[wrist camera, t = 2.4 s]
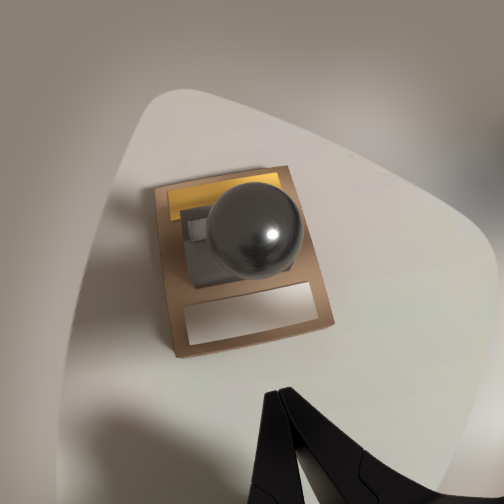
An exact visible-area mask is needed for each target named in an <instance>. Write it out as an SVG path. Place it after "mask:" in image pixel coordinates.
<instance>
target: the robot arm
mask: <svg viewBox="0 0 504 504" xmlns="http://www.w3.org/2000/svg"><path fill="white" fill-rule="evenodd" d="M363 450H364V449H363V448H362V447H361V446H360V445H359V444H357V443H356V442H355V441H354V440H352V439H351V438H350V437H349V436H348V435H346V434H345V433H344V432H343V431H342V430H340V429H339V428H338V427H337V426H336V425H334V424H333V423H332V422H331V421H330V420H328V419H327V418H326V417H325V416H324V415H323V414H321V413H320V412H319V411H318V410H317V409H316V408H315V407H313V406H312V405H311V404H310V403H309V402H308V401H307V400H305V399H304V398H303V397H302V396H301V395H300V394H299V393H298V392H296V391H295V390H294V389H293V388H292V387H286V388H282V389H279V390H278V391H277V390H274V391H271V392H267V393H265V395H264V401H263V408H262V415H261V422H260V429H259V436H258V442H257V449H256V456H255V462H254V468H253V474H252V481H251V483H252V484H251V486H250V492H249V497H248V502H247V504H305V501H304V496H303V490H302V485H301V479H300V474H299V468H298V463H297V459H298V461H299V463H300V465H301V467H302V469H303V471H304V473H305V475H306V477H307V479H308V481H309V483H310V485H311V487H312V489H313V491H314V493H315V496H316V498H317V499H318V501H319V503H320V504H504V496H503V497H499V498H483V497H467V496H466V497H465V496H455V495H446V494H441V493H438V492H435V491H432V490H430V489H428V488H426V487H424V486H422V485H420V484H418V483H416V482H415V481H413V480H411V479H409V478H407V477H405V476H403V475H402V474H400V473H398V472H396V471H395V470H393V469H391V468H390V467H388V466H386V465H385V464H383V463H382V462H381V461H379V460H378V459H377V458H375V457H374V456H373V455H371V454H370V453H369V452H367V451H366V450H364V451H363Z"/></svg>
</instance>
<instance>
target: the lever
mask: <svg viewBox="0 0 504 504" xmlns="http://www.w3.org/2000/svg"><path fill="white" fill-rule="evenodd" d="M188 230H189V235H190V240H191V243H192V244H194V243H199V242H204V241H207V244H208V247H209V250H210V252H211V254H212V256H213V258H214V259H215V260H216V262H217V263H218V264H219V265H220V266H221V267H222V268H223V269H224V270H226V271H227V272H229V273H230V274H232V275H234V276H237V277H239V278H243V279H248V280H261V279H267V278H270V277H273V276H275V275H277V274H279V273H281V272H282V271H284V270H285V269H286V268H287V267H288V266H290V265H291V263H292V262H293V261H294V260H295V258H296V257H297V255H298V253H299V251H300V249H301V246H302V242H303V236H304V226H303V220H302V216H301V213H300V211H299V209H298V207H297V205H296V204H295V202H294V201H293V200H292V199H291V198H290V196H289V195H287V194H286V193H285V192H284V191H282V190H281V189H279V188H277V187H275V186H273V185H270V184H267V183H262V182H247V183H243V184H239V185H237V186H234V187H232V188H230V189H228V190H227V191H226V192H224V193H223V194H222V195H221V196H220V197H219V198H218V199H217V200H216V201H215V203H214V204H213V206H212V208H211V210H210V212H209V214H208V218H204V219H198V220H193V221H188Z"/></svg>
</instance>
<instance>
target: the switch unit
mask: <svg viewBox="0 0 504 504" xmlns="http://www.w3.org/2000/svg"><path fill="white" fill-rule="evenodd" d="M247 182H262V183H267V184H270V185H273V186H275V187H277V188H279V189H281V190H282V191H284V192H285V193H286V194H287V195H289V196H290V198H291V199H292V200H293V201H294V202H295V204H296V205H297V207H298V209H299V211H300V213H301V216H302V220H303V226H304V236H303V242H302V246H301V249H300V251H299V253H298V255H297V257H296V258H295V260H294V261H293V262H292V263H291V265H290V266H288V267H287V268H286V269H285V270H284V271H282V272H281V273H279V274H277V275H275V276H273V277H270V278H267V279H261V280H248V279H243V278H239V277H237V276H234V275H232V274H230V273H229V272H227V271H226V270H224V269H223V268H222V267H221V266H220V265H219V264H218V263H217V262H216V260H215V259H214V258H213V256H212V254H211V252H210V250H209V247H208V244H207V241H204V242H199V243H194V244H192V243H191V240H190V235H189V230H188V221H193V220H198V219H204V218H208V214H209V212H210V210H211V208H212V206H213V204H214V203H215V201H216V200H217V199H218V198H219V197H220V196H221V195H222V194H223V193H224V192H226V191H227V190H228V189H230V188H232V187H234V186H237V185H239V184H243V183H247ZM155 202H156V214H157V225H158V235H159V245H160V254H161V262H162V271H163V278H164V286H165V293H166V300H167V307H168V313H169V320H170V326H171V332H172V338H173V344H174V349H175V355H176V358H189V357H195V356H200V355H206V354H212V353H217V352H223V351H228V350H233V349H238V348H243V347H248V346H253V345H258V344H262V343H267V342H271V341H276V340H280V339H284V338H289V337H293V336H297V335H301V334H305V333H309V332H313V331H317V330H321V329H325V328H328V327H330V326H332V325H334V324H335V322H334V318H333V315H332V311H331V307H330V303H329V300H328V296H327V292H326V289H325V285H324V282H323V278H322V274H321V271H320V267H319V264H318V261H317V257H316V254H315V250H314V247H313V244H312V240H311V237H310V234H309V231H308V227H307V224H306V221H305V218H304V214H303V211H302V208H301V205H300V202H299V199H298V196H297V193H296V190H295V187H294V184H293V181H292V178H291V175H290V172H289V169H288V166H287V165H286V166H279V167H272V168H265V169H258V170H252V171H245V172H239V173H233V174H227V175H221V176H216V177H210V178H205V179H199V180H194V181H189V182H184V183H179V184H174V185H169V186H164V187H159V188H155Z"/></svg>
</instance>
